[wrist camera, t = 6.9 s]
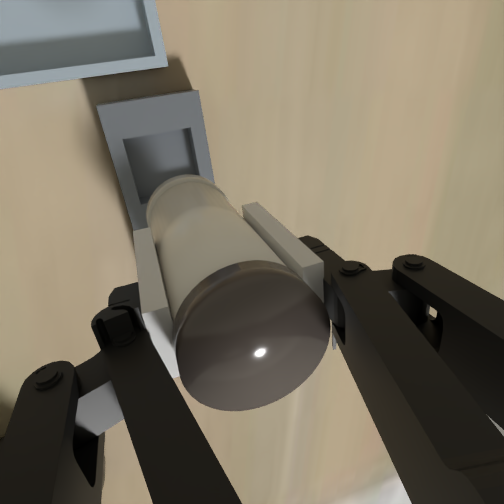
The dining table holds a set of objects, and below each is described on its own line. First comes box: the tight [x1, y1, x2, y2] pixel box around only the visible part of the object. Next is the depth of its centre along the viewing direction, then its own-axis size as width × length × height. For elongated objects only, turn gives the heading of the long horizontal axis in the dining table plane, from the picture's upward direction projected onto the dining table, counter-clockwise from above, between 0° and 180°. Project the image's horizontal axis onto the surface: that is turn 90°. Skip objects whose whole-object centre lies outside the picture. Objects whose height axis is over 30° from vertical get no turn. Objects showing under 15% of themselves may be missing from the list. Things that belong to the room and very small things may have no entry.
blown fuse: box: [146, 174, 330, 411], centre depth 15 cm, size 5×5×12 cm
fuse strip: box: [96, 90, 215, 231], centre depth 35 cm, size 8×22×2 cm, turn 6°
